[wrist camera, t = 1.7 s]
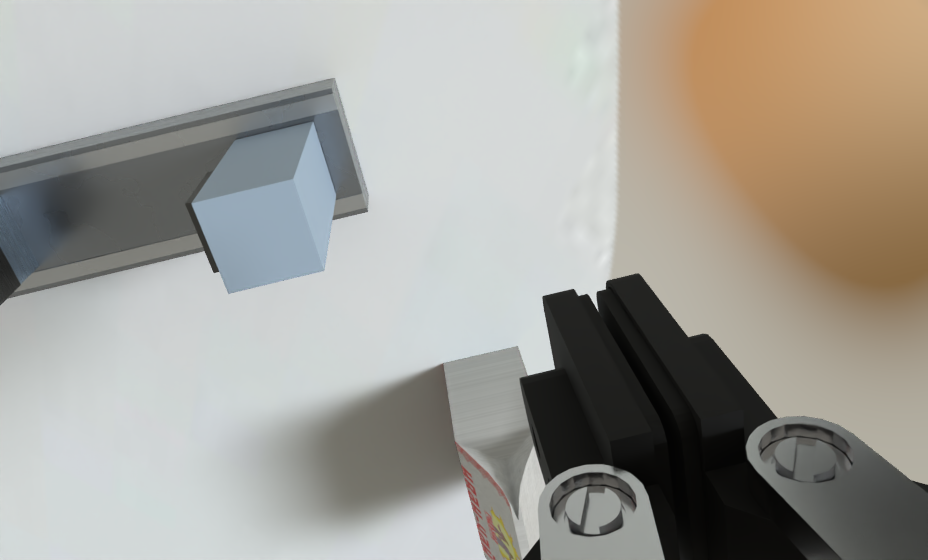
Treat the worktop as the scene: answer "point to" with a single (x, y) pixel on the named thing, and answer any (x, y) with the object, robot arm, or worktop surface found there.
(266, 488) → the worktop surface
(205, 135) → the rail
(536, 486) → the white drink carton
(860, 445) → the robot arm
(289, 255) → the block
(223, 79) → the worktop surface
